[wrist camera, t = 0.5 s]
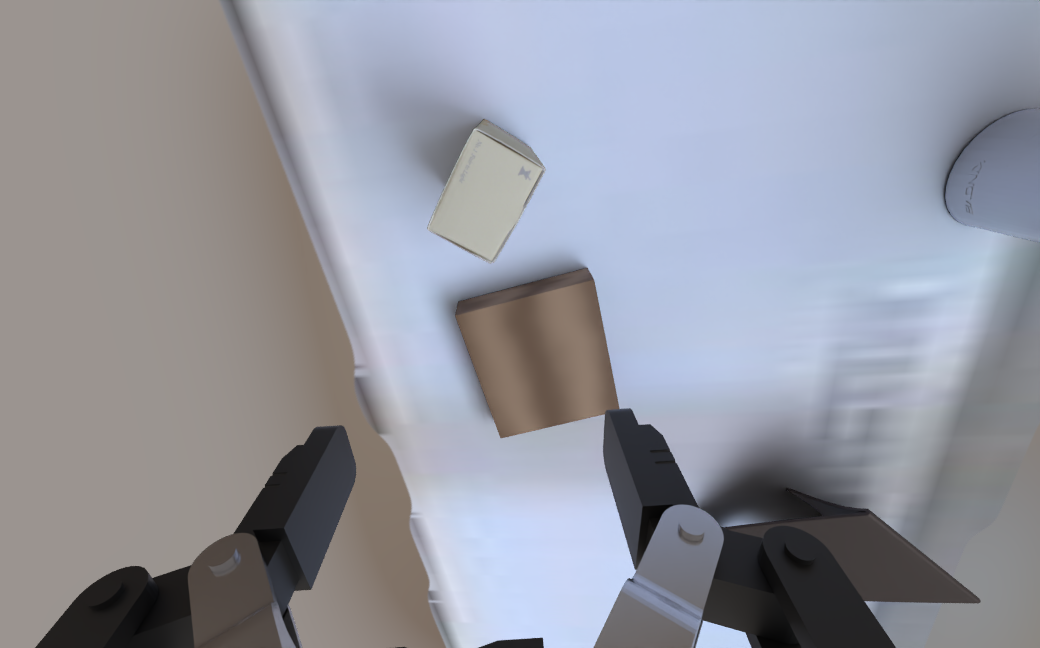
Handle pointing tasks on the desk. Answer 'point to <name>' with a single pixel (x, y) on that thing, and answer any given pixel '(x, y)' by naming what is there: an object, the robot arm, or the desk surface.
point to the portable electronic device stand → (873, 555)
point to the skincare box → (486, 192)
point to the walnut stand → (540, 352)
